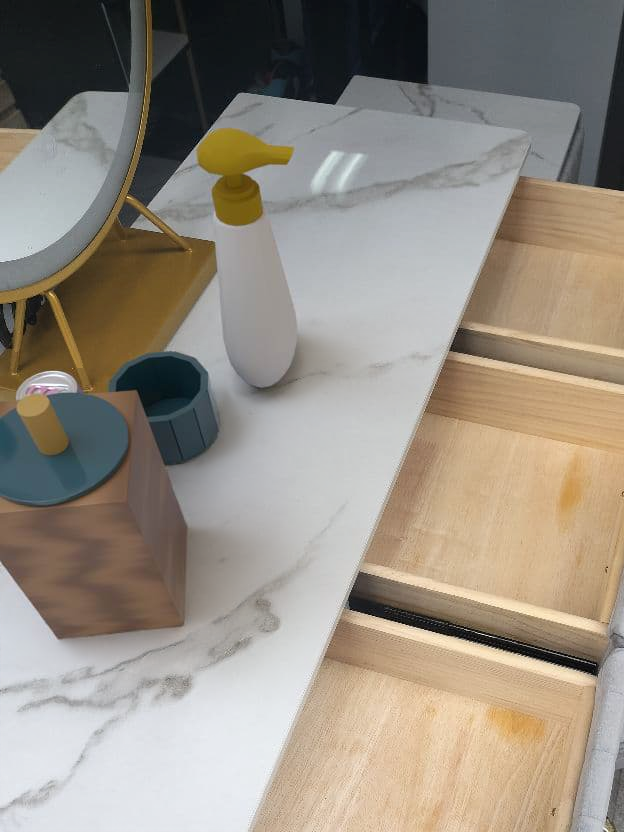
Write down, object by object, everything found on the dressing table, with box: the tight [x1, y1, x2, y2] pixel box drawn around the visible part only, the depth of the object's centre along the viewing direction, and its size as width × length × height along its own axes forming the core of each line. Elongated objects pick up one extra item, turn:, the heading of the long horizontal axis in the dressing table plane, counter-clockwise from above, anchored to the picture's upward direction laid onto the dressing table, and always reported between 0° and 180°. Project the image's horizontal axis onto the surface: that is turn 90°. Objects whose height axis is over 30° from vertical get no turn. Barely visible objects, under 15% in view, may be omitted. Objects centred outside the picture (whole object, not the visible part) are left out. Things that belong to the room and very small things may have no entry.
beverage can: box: [15, 370, 84, 400], centre depth 82 cm, size 6×6×15 cm
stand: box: [0, 390, 188, 640], centre depth 74 cm, size 12×12×20 cm
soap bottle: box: [195, 127, 298, 389], centre depth 88 cm, size 13×10×29 cm
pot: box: [107, 350, 221, 466], centre depth 91 cm, size 11×11×7 cm
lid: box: [0, 392, 129, 507], centre depth 63 cm, size 12×12×5 cm
